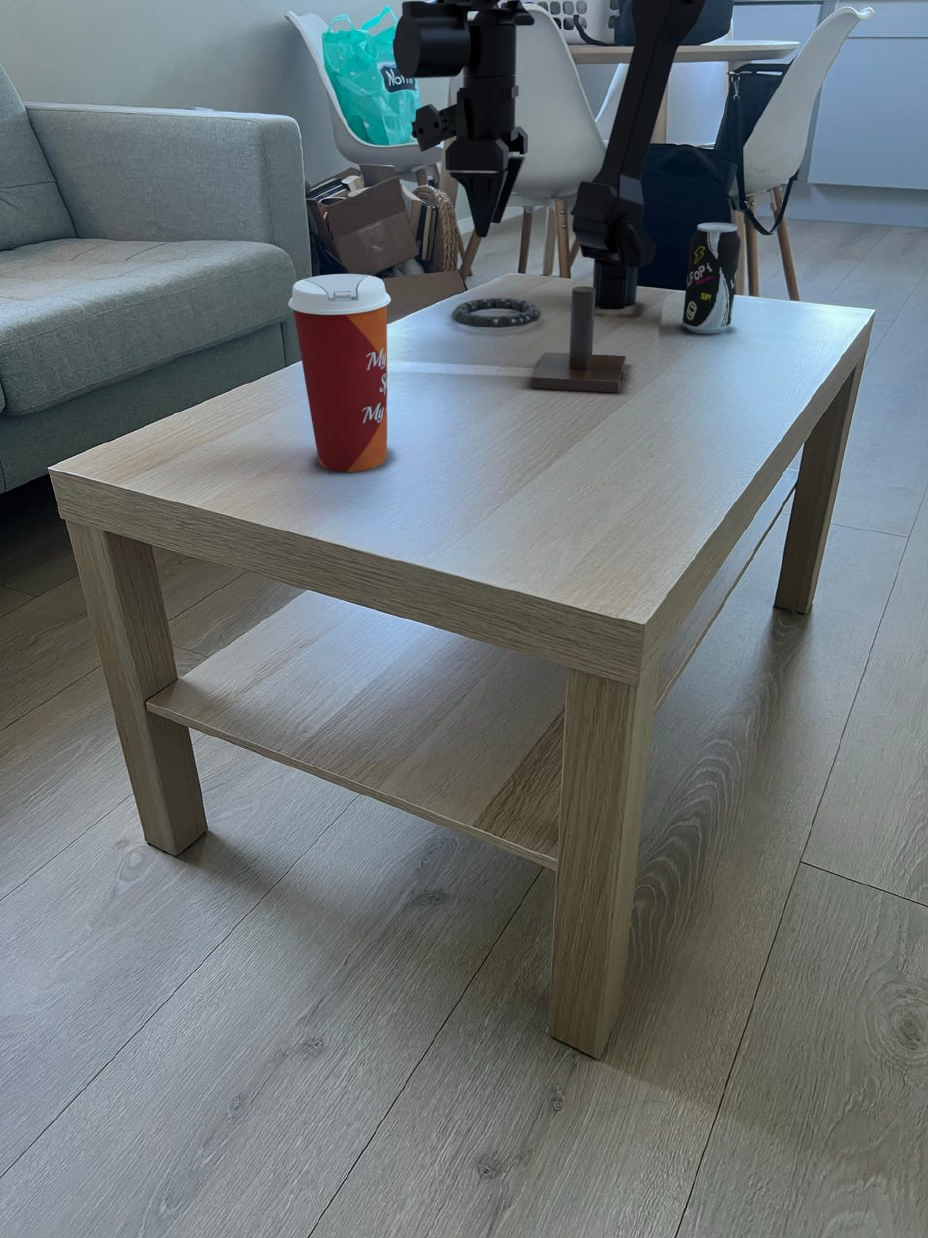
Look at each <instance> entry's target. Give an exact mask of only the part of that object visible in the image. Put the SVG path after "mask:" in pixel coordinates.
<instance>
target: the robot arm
mask: <svg viewBox="0 0 928 1238" xmlns="http://www.w3.org/2000/svg"><path fill="white" fill-rule="evenodd" d="M500 2H501V0H435V1H434V2H433V3H432V2H427V1H424V0H423V1H422V0H406V1H405V0H404V1H403V2H402V3H401V16H400V17H399V19H398V21H397V24H396V27H395V31H394V38H393V39H392V53H393V59H394V63H395V66H396V69H397V71H398V72H399V74H400V76H401V77H402V78H404V79H407V80H411V79H412V80H413V79H436V78H437V79H438V78H455V77H457V76H459V75H460V74H461V72H462V86H461V87H459V88H458V90H457V91H456V103H454V104H452V105H449V106H447V107H445V108H443V109H440V110H438V109H437V108H436V107H435V106H434V104H432V103H428V104H425V105H423V106H421V107H419V108H417V109H415V117H414V120H413V121H411V122H410V124H411V127H412V130H411V136H412V138H413V139H416V142H417V145H418V148H419V151H420V153H422V152H425V151H428V150H430V149H432V148H434V147H436V146H438V145H441V143H442V142H445V141H447V140H449V139H452V138H454V137H455V139H454V140H453V141H452V142H451V143H450V144H449V145H448V147H446V149H445V150H444V152H445V153H444V156H445V157H444V159H445V162H444V163H445V171H449V172H448V173H449V175H450V177H451V178H453V179H455V181H457V182H458V183H459V184H460V186H462V187H463V189H464V190H465V195H466V198H467V202H468V206H469V210H470V214H471V219H472V222H473V227H474V231H475V235H476V237H477V238H486V237H487V236H488V233H489V231H490V228H491V226H492V224H500V223H502V220H503V217H504V215H505V213H506V209H507V206H508V204H509V202H510V198H511V196H512V194H513V192H514V191H513V190H514V188H515V185H516V183H517V180H518V178H519V175H520V172H521V170H522V168H523V165H524V162H525V160H526V156H521V155H526V154H527V153H528V152H529V146H528V145H529V144H528V143H529V134H528V133H527V132H526V131H525V130H524V128H522V126H516V99H517V97H519V94H520V93H519V92H520V85H517V76H516V75H517V29H518V28H517V27H526V26H529V27H530V26H531V27H532V26H534V24H535V23H536V22H535V20H536V19H535V18H534V16H533V15H532V14H531V13H530V12H529V11H528V10H527V9H526V8H525V6H524V5H523V3H522V0H506V2H505V4H504V5H503V6H502V7H496V6H497V4H498V3H500ZM706 3H707V0H632V4H631V9H630V11H631V20H632V24H633V30H634V37H635V40H634V44H633V48H632V52H631V56H630V60H629V64H628V68H627V72H626V75H625V80H624V82H623V85H622V86H623V87H622V90H621V94H620V98H619V101H618V105H617V109H616V112H615V117H614V121H613V123H612V127H611V131H610V136H609V139H608V143H607V145H606V150H605V154H604V157H603V162H602V165H601V168H600V170H599V172H598V173H597V174H596V175H595V177H594V178H593V179H592V180H591V181H587V180H581V181H580V183H579V185H578V187H577V193H576V200H575V202H574V206H573V207H572V210H571V211H570V213H569V214H570V216H572V217H573V219H572V223H571V224H572V226H571V227H572V232H573V233H574V236H575V238H576V240H577V242H578V244H579V249H580V253H581V256H582V258H586V259H587V258H588V259H592V260H593V275H592V276H593V277H592V287H593V288H595V289H596V293H595V306H597V307H598V308H599V309H601V310H616V311H617V310H618V311H619V310H620V311H622V310H623V309H626V308H627V307H632V306H634V305H635V304H636V302H637V292H638V291H637V290H638V278H639V277H638V276H639V268H642V267H644V266H645V265H650V264H652V262H653V260H654V257H655V253H656V250H657V245H656V244H655V242H654V241H653V240H652V237H650V235H649V234H648V233H647V231H646V230H645V229H644V227H643V226H642V222H643V216H644V211H645V201H644V194H643V189H642V184H641V178H642V173H643V170H644V166H645V163H646V159H647V157H648V152H649V149H650V145H651V141H652V138H653V134H654V132H655V131H654V130H655V128H656V124H657V120H658V117H659V114H660V109H661V106H662V102H663V99H664V95H665V92H666V88H667V85H668V81H669V77H670V75H671V71H672V68H673V64H674V60H675V56H676V53H677V50H678V48H679V47H680V46H681V45H682V43H683V42H684V41H685V40H686V38H687V37H688V36H689V35H690V33H691V32H692V31H693V29H694V28H695V27H696V25H697V24H698V22H699V19H700V17H701V14H702V13H703V9H704V7H705V5H706ZM474 12H477V13H476V14H475V16H474V18H473V19H471V20H470V19H468V17H469V15H468V14H469V13H474ZM514 153H519V155H518V156H517V155H516V156H515V155H514Z"/></svg>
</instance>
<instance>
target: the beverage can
mask: <svg viewBox="0 0 928 1238" xmlns="http://www.w3.org/2000/svg"><path fill="white" fill-rule="evenodd" d="M696 227H697V228H696V231H695V233H694V234H693V235H692V237H691V239H690V244H689V254H688V265H687V273H686V281H685V283H686V284H685V294H684V306H683V315H682V324H683V326H684V327H686V328H687V329H688V331H690V332H693V333H696V334H701V335H702V334H705V335H712V334H720V333H721V332H723V331H724V330H725V329H728V328H729V327H730V326H731V324H732V314H733V307H734V299H735V292H736V285H737V284H736V283H737V277H738V269H739V260H740V253H741V244H742V241H741V237H740V236H739V234H738V231H737V230H738V226H737V224H733V223H728V222H704V223H700V224H698V225H696Z"/></svg>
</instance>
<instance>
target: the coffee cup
mask: <svg viewBox="0 0 928 1238" xmlns="http://www.w3.org/2000/svg"><path fill="white" fill-rule="evenodd" d="M391 300H392V299H391V296H390V294H389V293H387V290H386V286H385V282H384V281H383V280H382V279H381V278H380V277H377V276H375V275H368V274H358V273H334V274H333V273H332V274H323V275H322V274H321V275H316V276H311V277H307V278H304V279H300V280H298V281H296V282H295V283H294V284H293V286H292V297H290V298H289V300H288V307H289V308H290V309H291V310H293V315H294V321H295V327H296V333H297V339H298V346H299V351H300V358H301V363H302V370H303V374H304V377H303V378H304V382H305V388H306V395H307V401H308V405H309V413H310V418H311V424H312V430H313V436H314V443H315V447H316V453H317V458H318V461H319V463H320V465H321V466H322V467H323V468H325V469H326V470H330V471H334V472H340V473H341V472H343V473H356V472H363V471H369V470H373V469H375V468H378V467H380V466H381V465H382V464H384V463H385V462H386V460H387V453H388V305H389V304H390V303H391Z"/></svg>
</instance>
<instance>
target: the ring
mask: <svg viewBox="0 0 928 1238" xmlns="http://www.w3.org/2000/svg"><path fill="white" fill-rule="evenodd" d="M492 309H493V310H494V309H499V310H510V311H511V310H512V311H517V312H520V313H516V314H510V315H499V316H498V315H495V316H493V315H479V314H474V313H475V312H478V311H482V310H492ZM541 316H542V312H541V309H540V308H539V307H538V306H536V305H535V304H533V303H532V302H530V301H528V300H527V301H526V300H522V299H516V298H509V297H508V298H505V297H504V298H503V297H502V298H501V297H491V298H479V299H478V298H477V299H472V300H469V301H466V302H461V303H460V304H459V305H457V306H456V308H454V310H453V311H452V313H451V318H452V319H453V320H454V321H455V322H457V324H462V325H467V326H469V327H470V326H471V327H476V328H493V329H494V328H496V329H497V328H498V329H499V328H500V329H501V328H509V327H520V326H524V325H528V324H531V323H534V322H537V321H538V320H539V319H540V317H541Z"/></svg>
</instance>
